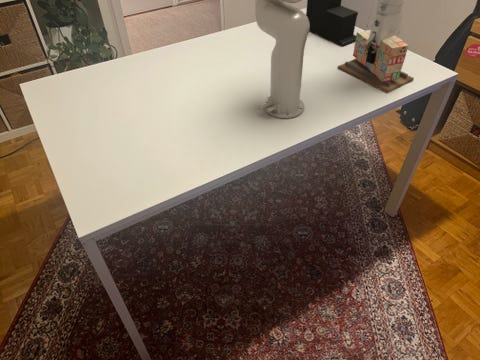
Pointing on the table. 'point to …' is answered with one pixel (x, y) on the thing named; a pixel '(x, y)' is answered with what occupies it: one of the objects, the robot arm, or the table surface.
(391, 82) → the slot board
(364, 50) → the stack of blocks
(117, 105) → the table surface
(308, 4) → the bookend
